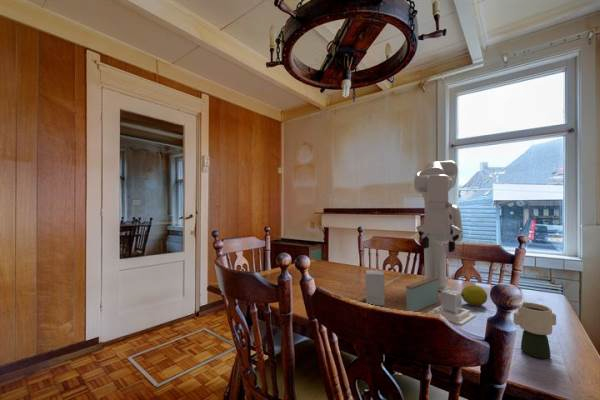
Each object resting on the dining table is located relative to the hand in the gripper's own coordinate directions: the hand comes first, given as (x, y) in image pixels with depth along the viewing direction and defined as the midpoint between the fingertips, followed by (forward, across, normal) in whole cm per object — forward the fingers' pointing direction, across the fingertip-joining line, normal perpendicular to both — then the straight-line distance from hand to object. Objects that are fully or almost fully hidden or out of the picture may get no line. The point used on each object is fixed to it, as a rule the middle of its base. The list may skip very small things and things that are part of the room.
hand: (438, 249), depth 108 cm
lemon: (+24, -8, -13) cm, 28 cm away
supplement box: (+23, +20, +14) cm, 34 cm away
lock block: (+22, -6, +4) cm, 23 cm away
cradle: (+23, -6, +4) cm, 24 cm away
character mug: (+22, -32, +14) cm, 41 cm away
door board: (+23, +5, +4) cm, 24 cm away
